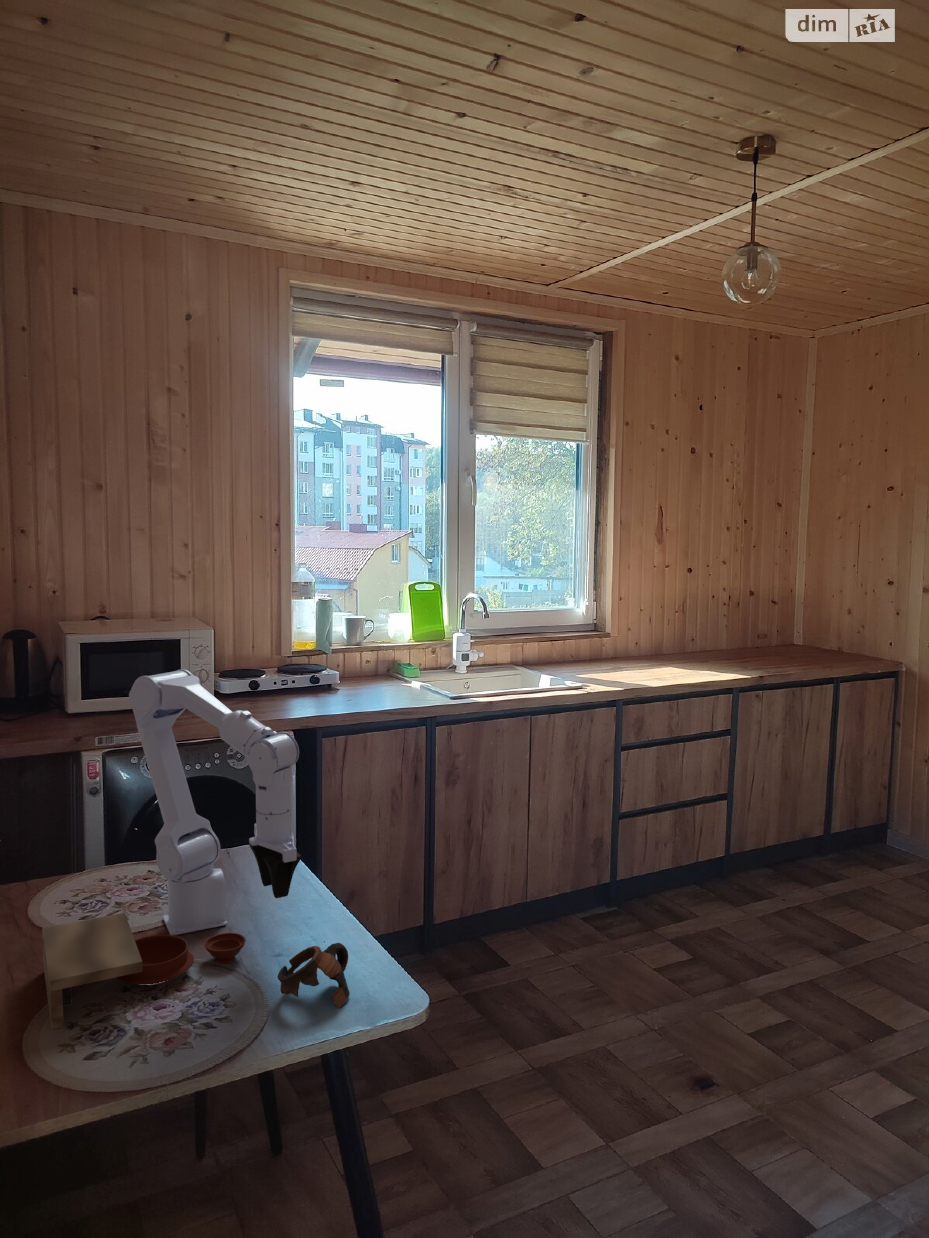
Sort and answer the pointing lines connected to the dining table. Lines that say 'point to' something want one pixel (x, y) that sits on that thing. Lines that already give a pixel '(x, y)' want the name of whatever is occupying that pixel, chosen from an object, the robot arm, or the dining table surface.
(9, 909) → the dining table surface
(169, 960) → the pottery
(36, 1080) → the dining table surface
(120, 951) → the low shelf
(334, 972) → the broken clay jug rim
